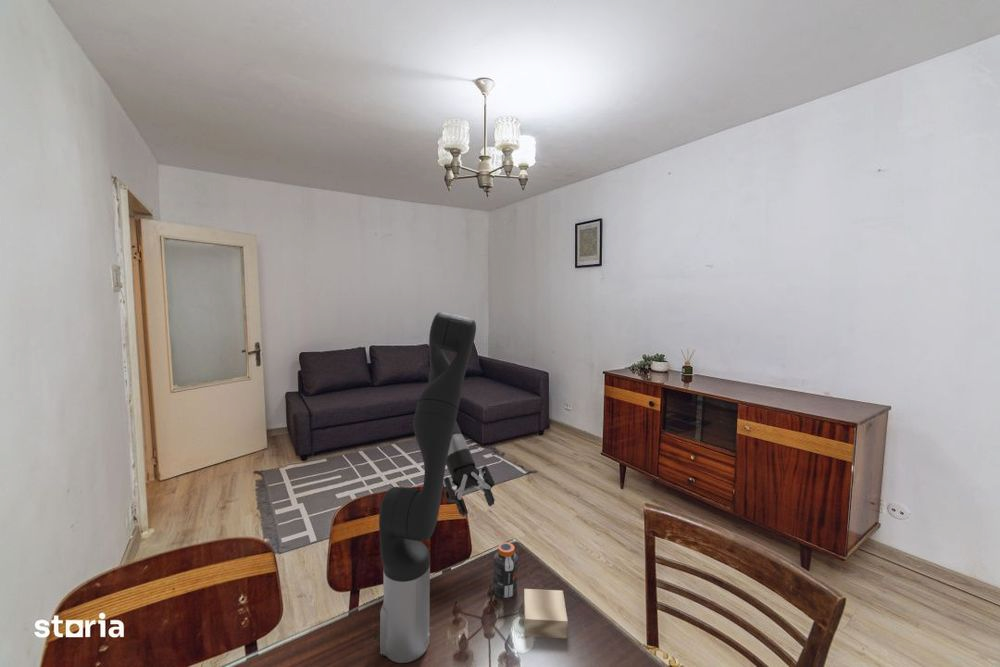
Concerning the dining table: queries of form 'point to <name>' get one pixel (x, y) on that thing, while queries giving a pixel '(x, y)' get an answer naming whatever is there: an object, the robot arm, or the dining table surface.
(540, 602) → the maple block
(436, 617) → the dining table surface
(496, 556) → the pill bottle
